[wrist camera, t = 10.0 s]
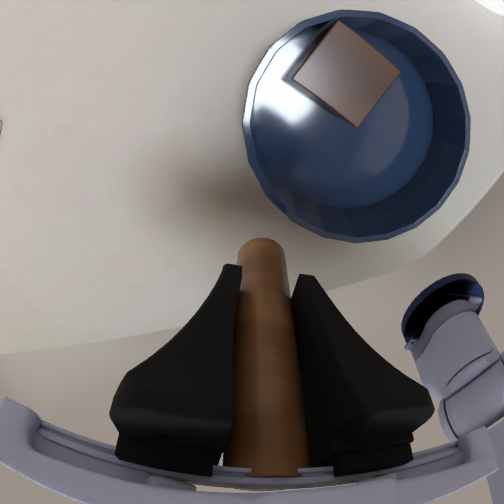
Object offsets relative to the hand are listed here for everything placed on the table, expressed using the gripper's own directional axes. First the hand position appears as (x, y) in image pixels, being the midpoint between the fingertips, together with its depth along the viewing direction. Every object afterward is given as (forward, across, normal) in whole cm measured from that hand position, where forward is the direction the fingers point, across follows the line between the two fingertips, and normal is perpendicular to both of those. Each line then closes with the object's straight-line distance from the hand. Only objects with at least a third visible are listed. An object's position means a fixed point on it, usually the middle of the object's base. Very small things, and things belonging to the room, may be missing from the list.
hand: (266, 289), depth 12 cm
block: (+9, -2, -9) cm, 13 cm away
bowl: (+9, -4, -6) cm, 12 cm away
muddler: (+3, 0, +1) cm, 3 cm away
